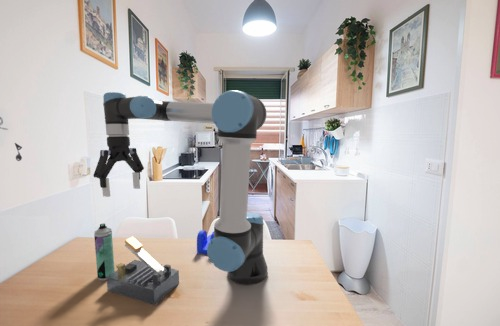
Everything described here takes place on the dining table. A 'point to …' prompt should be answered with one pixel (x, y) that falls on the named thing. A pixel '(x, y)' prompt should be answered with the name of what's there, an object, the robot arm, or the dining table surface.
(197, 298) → the dining table surface
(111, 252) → the spray can
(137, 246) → the bar
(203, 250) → the bracket
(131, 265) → the finned block
